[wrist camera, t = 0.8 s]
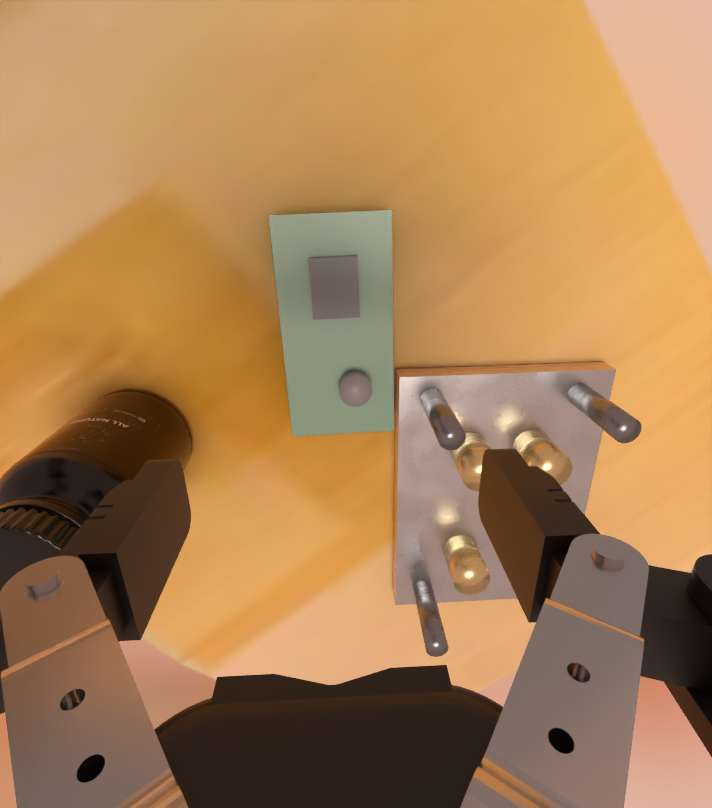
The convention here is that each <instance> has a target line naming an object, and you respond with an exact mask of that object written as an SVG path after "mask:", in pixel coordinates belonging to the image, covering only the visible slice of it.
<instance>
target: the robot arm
mask: <svg viewBox="0 0 712 808" xmlns="http://www.w3.org/2000/svg"><path fill="white" fill-rule="evenodd" d="M478 508H479V515H480V519H481V522H482V524H483V526H484V528H485V530H486V533H487V535H488V537H489V539H490V541H491V543H492V545H493V547H494V550H495V552H496V554H497V556H498V558H499V560H500V562H501V564H502V566H503V569H504V571H505V573H506V575H507V577H508V579H509V581H510V583H511V585H512V588H513V590H514V592H515V594H516V596H517V598H518V600H519V602H520V605H521V607H522V609H523V611H524V613H525V615H526V617H527V619H528V621H529V622H536V624H535V627H534V630H533V632H532V635H531V637H530V640H529V642H528V645H527V648H526V650H525V653H524V655H523V658H522V660H521V663H520V666H519V668H518V671H517V673H516V676H515V678H514V681H513V684H512V686H511V689H510V692H509V694H508V696H507V699H506V702H505V704H504V707H502V706H501V705H499V704H498V703H496V702H494V701H492V700H491V699H489V698H487V697H485V696H483V695H481V694H479V693H476V692H474V691H471V690H468V689H465V688H462V687H459V686H454V685H451V682H450V678H449V674H448V670H447V666H446V665H439V666H420V667H400V668H389V669H386V670H383V671H380V672H376V673H373V674H370V675H367V676H364V677H360V678H357V679H354V680H351V681H347V682H344V683H341V684H337V685H325V684H320V683H316V682H311V681H306V680H301V679H296V678H291V677H286V676H281V675H276V674H266V675H247V676H227V677H217V680H216V684H215V689H214V693H213V696H212V698H210V699H207V700H204V701H202V702H199V703H197V704H195V705H192V706H190V707H188V708H186V709H185V710H183V711H181V712H179V713H177V714H175V715H174V716H173V717H171V718H170V719H168V720H167V721H165V722H164V723H162V724H161V725H160V726H159V727H157V728H156V729H155V730H154V728H153V725H152V723H151V720H150V718H149V715H148V713H147V710H146V708H145V706H144V703H143V701H142V698H141V696H140V693H139V691H138V689H137V686H136V684H135V681H134V679H133V676H132V674H131V671H130V669H129V666H128V664H127V662H126V659H125V657H124V654H123V652H122V649H121V647H120V644H119V641H126V640H127V641H128V640H141V638H142V635H143V633H144V631H145V629H146V627H147V624H148V622H149V620H150V618H151V615H152V613H153V611H154V609H155V606H156V604H157V602H158V600H159V597H160V595H161V593H162V591H163V588H164V586H165V584H166V582H167V579H168V577H169V575H170V573H171V570H172V568H173V566H174V564H175V561H176V559H177V557H178V555H179V552H180V550H181V548H182V546H183V543H184V541H185V539H186V537H187V534H188V532H189V528H190V521H191V511H190V504H189V499H188V494H187V489H186V483H185V478H184V473H183V468H182V464H181V462H180V461H179V460H178V459H167V460H148V461H146V462H145V464H144V465H143V466H142V468H141V469H140V470H139V472H138V473H137V474H136V476H135V477H134V478H133V480H125V481H124V482H122V483H121V484H119V485H118V486H116V487H115V488H113V489H112V490H110V491H109V492H108V493H107V494H106V495H105V497H104V498H103V499H102V501H101V502H100V503H99V504H98V508H95V509H94V511H93V512H92V513H91V514H90V516H89V519H88V520H86V521H85V522H84V523H83V525H82V526H81V527H80V528H79V530H78V531H77V532H76V533H75V535H74V536H73V537H72V538H71V540H70V541H69V542H68V544H67V545H66V546H65V547H64V549H63V550H62V551H61V552H60V554H59V555H58V556H57V557H51V558H47V559H44V560H41V561H38V562H36V563H34V564H32V565H30V566H28V567H26V568H24V569H23V570H21V571H19V572H18V573H17V574H15V575H14V576H13V577H12V578H11V579H10V580H8V581H7V583H6V584H5V585H4V586H3V588H2V590H1V591H0V714H1V713H4V712H5V714H6V723H7V730H8V738H9V747H10V754H11V763H12V770H13V779H14V786H15V795H16V802H17V808H624V801H625V792H626V785H627V777H628V769H629V760H630V753H631V745H632V737H633V729H634V721H635V713H636V705H637V698H638V690H639V681H640V676H644V677H648V678H652V679H656V680H660V681H664V682H665V684H666V686H667V687H668V689H669V690H670V692H671V694H672V695H673V697H674V698H675V700H676V701H677V703H678V705H679V706H680V708H681V709H682V711H683V713H684V714H685V716H686V717H687V719H688V720H689V722H690V724H691V725H692V727H693V728H694V730H695V731H696V733H697V735H698V736H699V738H700V739H701V741H702V742H703V744H704V746H705V747H706V749H707V750H708V752H709V754H710V755H711V757H712V554H711V555H705V556H702V557H700V558H698V559H697V560H696V562H695V565H694V568H693V570H692V573H687V572H682V571H676V570H671V569H665V568H660V567H655V566H650V565H648V563H647V561H646V559H645V558H644V557H643V556H642V554H641V553H640V552H638V551H637V550H636V549H635V548H633V547H632V546H630V545H629V544H627V543H625V542H623V541H621V540H619V539H616V538H614V537H610V536H606V535H601V534H600V533H599V532H598V531H597V530H596V528H595V527H594V526H593V525H592V524H591V522H590V521H589V520H588V519H587V517H586V516H585V515H584V514H583V513H582V511H581V510H580V509H579V508H578V506H577V505H576V504H575V503H574V502H572V501H571V498H570V497H569V495H568V494H567V493H566V492H565V491H563V488H562V487H561V486H560V484H559V483H558V482H557V481H556V480H555V478H554V477H553V476H551V475H550V474H548V473H547V472H545V471H544V470H542V469H540V468H539V467H537V466H529V465H528V464H527V463H526V462H525V460H524V459H523V458H522V456H521V455H520V454H519V452H518V451H517V450H516V449H514V448H509V449H487V450H485V452H484V455H483V461H482V469H481V478H480V487H479V496H478Z"/></svg>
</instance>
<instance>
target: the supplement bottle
mask: <svg viewBox="0 0 712 808" xmlns="http://www.w3.org/2000/svg"><path fill="white" fill-rule="evenodd" d="M190 452H191V441H190V436H189V432H188V430H187V427H186V425H185V423H184V422H183V420H182V419H181V417H180V416H179V415H178V414H177V413H176V412H175V411H174V410H173V409H172V408H171V407H170V406H169V405H167V404H166V403H165V402H163V401H161V400H159V399H157V398H155V397H153V396H150V395H147V394H144V393H139V392H130V391H125V392H116V393H112V394H109V395H106V396H104V397H102V398H100V399H98V400H97V401H95V402H94V403H92V404H91V405H90V406H88V407H87V408H85V409H84V410H83V411H82V412H80V413H79V414H78V415H77V416H75V417H74V418H73V419H71V420H70V421H69V422H68V423H66V424H65V425H64V426H63V427H61V428H60V429H59V430H57V431H56V432H55V433H54V434H52V435H51V436H50V437H49V438H47V439H46V440H45V441H43V442H42V443H41V444H40V445H38V446H37V447H36V448H35V449H33V450H32V451H31V452H29V453H28V454H27V455H26V456H24V457H23V458H22V459H21V460H19V461H18V462H17V463H16V464H14V465H13V466H12V467H11V468H10V469H9V470H8V471H7V472H6V473H5V474H4V475H3V476H2V477H1V479H0V591H1V590H2V588H3V586H4V585H5V584H6V583H7V581H8V580H10V579H11V578H12V577H13V576H14V575H15V574H17V573H18V572H19V571H21V570H23V569H24V568H26V567H28V566H30V565H32V564H34V563H36V562H38V561H41V560H44V559H47V558H51V557H57V556H58V555H59V554H60V552H61V551H62V550H63V549H64V547H65V546H66V545H67V544H68V542H69V541H70V540H71V538H72V537H73V536H74V535H75V533H76V532H77V531H78V530H79V528H80V527H81V526H82V525H83V523H84V522H85V521H86V520H88V519H89V516H90V514H91V513H92V512H93V511H94V509H95V508H98V504H99V503H100V502H101V501H102V499H103V498H104V497H105V495H106V494H107V493H108V492H109V491H110V490H112V489H113V488H115V487H116V486H118V485H119V484H121V483H122V482H124V481H125V480H133V478H134V477H135V476H136V474H137V473H138V472H139V470H140V469H141V468H142V466H143V465H144V464H145V462H146V461H148V460H167V459H178V460H179V461H180V462H181V464H182V468H183V470H184V469H185V467H186V465H187V463H188V460H189V457H190Z"/></svg>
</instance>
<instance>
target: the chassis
mask: <svg viewBox="0 0 712 808" xmlns="http://www.w3.org/2000/svg"><path fill="white" fill-rule="evenodd" d="M615 372H616V369H614V368H613V367H611V366H609V365H607V364H606V363H604V362H579V363H551V364H523V365H495V366H467V367H439V368H411V369H396V414H395V482H394V550H393V593H394V599H395V605H403V604H417V609H418V614H419V619H420V623H421V628H422V633H423V637H424V642H425V647H426V651H427V653H428V654H429V655H430V656H434V657H437V656H442V655H444V654H445V653H446V652H447V651H448V644H447V640H446V637H445V633H444V629H443V625H442V621H441V618H440V614H439V610H438V606H437V603H440V602H458V601H477V600H495V599H513V598H517V596H516V594H515V592H514V590H513V588H512V585H511V583H510V581H509V579H508V577H507V575H506V573H505V571H504V569H503V566H502V564H501V562H500V560H499V558H498V556H497V554H496V552H495V550H494V547H493V545H492V543H491V541H490V539H489V537H488V535H487V533H486V530H485V528H484V526H483V524H482V522H481V519H480V515H479V508H478V496H479V487H480V478H481V469H482V461H483V455H484V452H485V450H487V449H509V448H514V449H516V450H517V451H518V452H519V454H520V455H521V456H522V458H523V459H524V460H525V462H526V463H527V464H528V465H529V466H537V467H539V468H540V469H542V470H544V471H545V472H547V473H548V474H550V475H551V476H553V477H554V478H555V480H556V481H557V482H558V483H559V484H560V486H561V487H562V488H563V491H565V492H566V493H567V494H568V495H569V497H570V498H571V501H572V502H574V503H575V504H576V505H577V506H578V508H579V509H580V510H581V511H582V513H583V514H584V515H585V510H586V505H587V501H588V496H589V492H590V487H591V482H592V478H593V473H594V469H595V464H596V459H597V455H598V450H599V445H600V441H601V436H602V432H603V430H604V431H606V432H607V433H608V434H609V435H611V436H612V437H613V438H614V439H615V440H617V441H618V442H620V443H628V442H631V441H633V440H634V439H636V438H637V437H638V435H639V434H640V432H641V424H640V422H639V421H638V420H636V419H635V418H634V417H632V416H631V415H629V414H628V413H626V412H625V411H624V410H622V409H621V408H619V407H618V406H616V405H615V404H614V403H612V402H611V401H609V399H610V395H611V390H612V385H613V381H614V376H615Z"/></svg>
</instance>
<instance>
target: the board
mask: <svg viewBox="0 0 712 808" xmlns="http://www.w3.org/2000/svg"><path fill="white" fill-rule="evenodd" d="M268 218H269V227H270V236H271V245H272V254H273V263H274V272H275V282H276V291H277V300H278V309H279V318H280V327H281V336H282V346H283V355H284V364H285V373H286V382H287V391H288V401H289V410H290V419H291V428H292V437H294V436H310V435H327V434H344V433H360V432H377V431H393V430H394V363H393V262H392V210H371V211H349V212H327V213H306V214H284V215H270V216H268Z"/></svg>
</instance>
